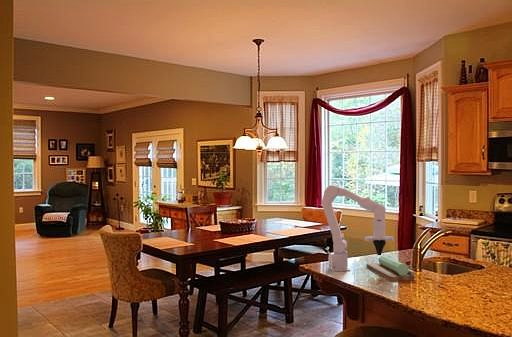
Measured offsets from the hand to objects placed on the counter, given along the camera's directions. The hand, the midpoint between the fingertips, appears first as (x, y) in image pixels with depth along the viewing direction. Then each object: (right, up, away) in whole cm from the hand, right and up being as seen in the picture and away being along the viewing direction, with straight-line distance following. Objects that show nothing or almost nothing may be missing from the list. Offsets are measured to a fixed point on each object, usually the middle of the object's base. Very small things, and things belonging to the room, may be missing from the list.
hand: (379, 255), depth 226 cm
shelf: (+4, -9, -3) cm, 10 cm away
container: (+6, -7, -3) cm, 9 cm away
